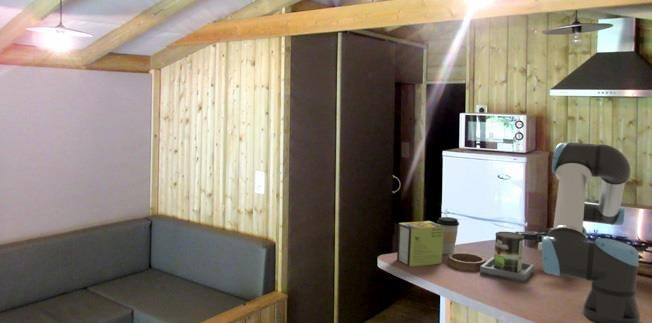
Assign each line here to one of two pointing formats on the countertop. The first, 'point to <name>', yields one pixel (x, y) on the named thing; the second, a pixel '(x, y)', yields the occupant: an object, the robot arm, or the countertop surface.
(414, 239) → the protein box
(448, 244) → the coffee cup
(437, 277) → the countertop surface
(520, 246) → the coffee can
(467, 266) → the holder ring
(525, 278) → the tray
